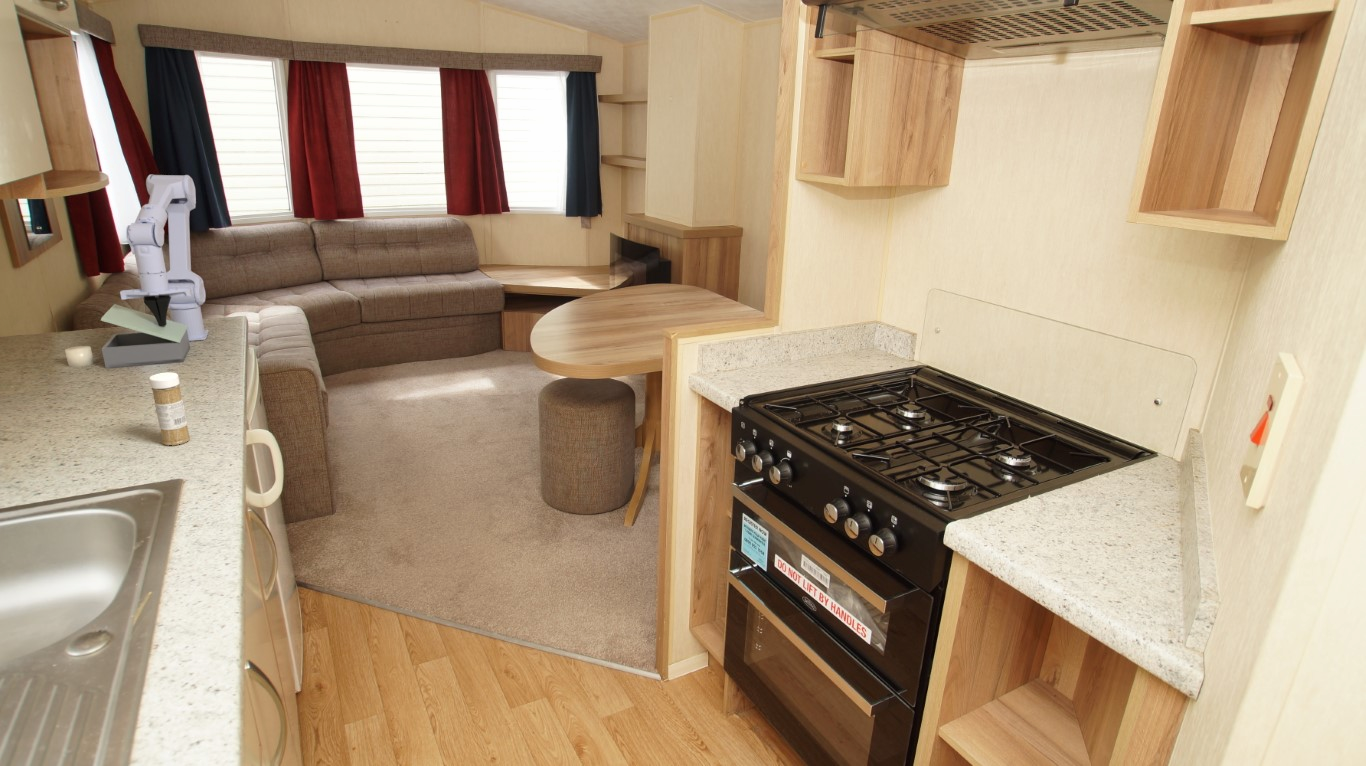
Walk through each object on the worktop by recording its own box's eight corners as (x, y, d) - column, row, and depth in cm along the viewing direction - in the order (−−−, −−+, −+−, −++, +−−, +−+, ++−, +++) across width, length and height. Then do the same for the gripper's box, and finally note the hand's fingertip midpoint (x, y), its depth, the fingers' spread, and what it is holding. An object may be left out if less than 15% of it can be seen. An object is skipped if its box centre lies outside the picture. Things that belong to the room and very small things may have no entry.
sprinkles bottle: (184, 435, 147) (171, 369, 143) (195, 441, 145) (182, 375, 140) (158, 442, 143) (144, 375, 139) (168, 448, 141) (154, 380, 137)
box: (117, 352, 194) (113, 334, 193) (190, 347, 201) (186, 329, 200) (105, 368, 183) (101, 348, 181) (183, 361, 189) (179, 342, 188)
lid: (113, 306, 191) (114, 304, 191) (187, 328, 200) (188, 325, 200) (100, 320, 179) (101, 317, 179) (179, 342, 187) (180, 339, 187)
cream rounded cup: (71, 362, 186) (67, 346, 185) (96, 360, 188) (92, 345, 187) (66, 368, 182) (62, 352, 181) (91, 366, 184) (87, 350, 183)
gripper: (113, 276, 180) (125, 331, 185) (184, 273, 186) (194, 326, 191) (119, 271, 186) (130, 324, 190) (188, 268, 192) (197, 320, 197)
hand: (162, 325), depth 191 cm, fingers closed
